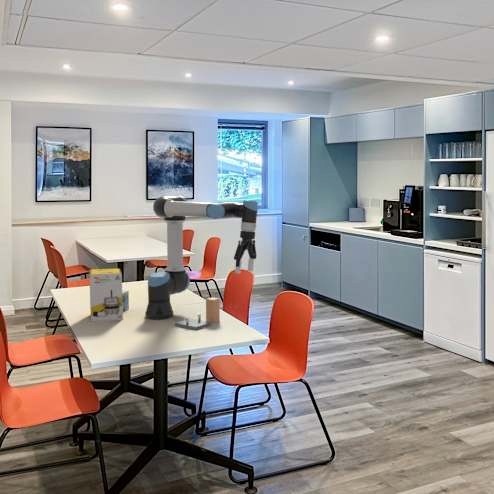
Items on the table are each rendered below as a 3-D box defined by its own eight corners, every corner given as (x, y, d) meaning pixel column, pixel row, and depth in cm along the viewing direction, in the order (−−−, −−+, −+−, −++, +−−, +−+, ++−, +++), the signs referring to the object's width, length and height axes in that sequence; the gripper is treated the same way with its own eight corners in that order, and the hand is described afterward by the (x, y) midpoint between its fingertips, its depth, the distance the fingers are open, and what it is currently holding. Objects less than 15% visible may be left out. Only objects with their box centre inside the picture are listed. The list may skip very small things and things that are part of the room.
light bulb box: (121, 313, 335) (121, 293, 334) (110, 312, 337) (110, 293, 336) (129, 308, 346) (129, 290, 345) (118, 308, 347) (117, 289, 346)
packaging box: (91, 321, 316) (89, 274, 313) (90, 314, 331) (89, 269, 328) (122, 319, 320) (121, 273, 317) (120, 312, 336) (119, 268, 333)
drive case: (206, 321, 316) (205, 298, 315) (212, 319, 320) (212, 297, 319) (213, 322, 313) (213, 300, 312) (219, 320, 317) (219, 298, 316)
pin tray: (175, 325, 307) (175, 316, 306) (191, 321, 316) (190, 311, 316) (196, 330, 299) (196, 320, 298) (211, 325, 308) (211, 315, 308)
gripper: (242, 232, 293) (238, 275, 295) (265, 231, 315) (261, 271, 317) (229, 230, 297) (225, 272, 299) (252, 229, 319) (248, 269, 321)
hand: (244, 272), depth 308 cm, fingers open, 13 cm apart
